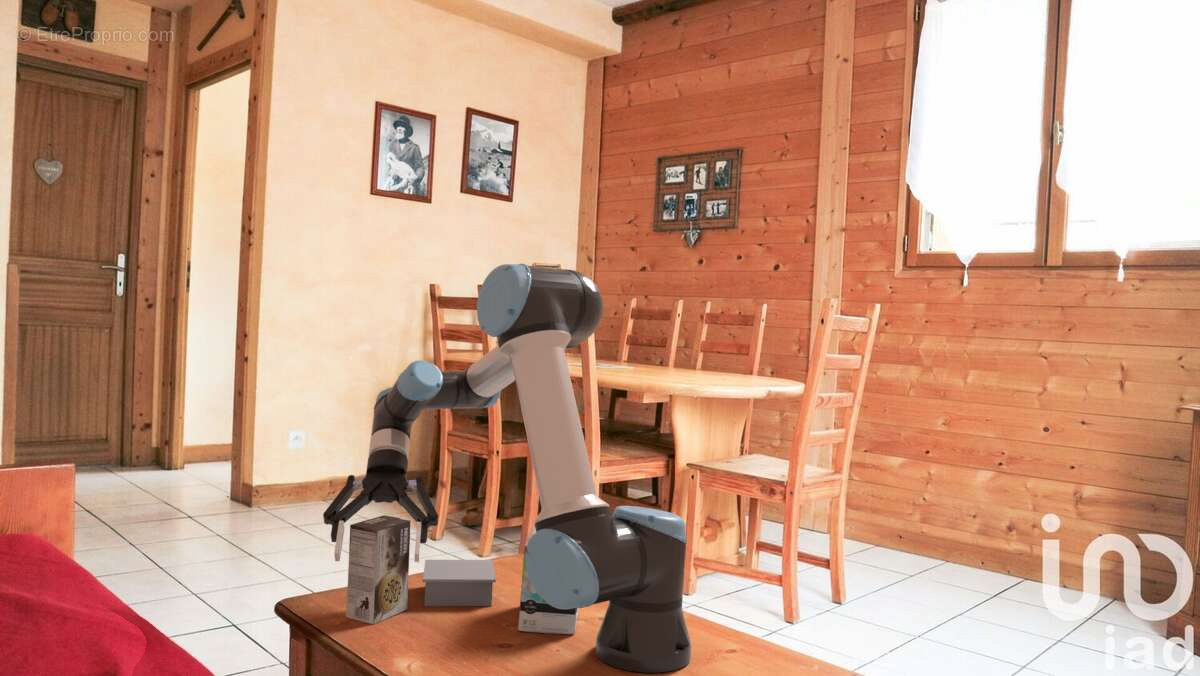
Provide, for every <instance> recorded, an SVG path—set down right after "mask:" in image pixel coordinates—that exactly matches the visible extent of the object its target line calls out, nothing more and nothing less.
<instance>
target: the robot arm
mask: <svg viewBox="0 0 1200 676" xmlns="http://www.w3.org/2000/svg"><path fill="white" fill-rule="evenodd" d="M604 310H605V309H604V299H603V295H602V293H601V291H600V289H599V287H598V286H597V284H596V282H594V281H593V280H592V278H590V277H589V276H588V275H586V274H584V273H582V272H580V271H577V270H575V269H567V268H566V269H562V268H555V267H554V268H553V267H544V266H534V265H527V264H525V263H518V264H512V263H511V264H510V263H505V264H500V265H498V266H496V267H494V269H492V270H491V271H490V272H489V273H488V275H487V276H486V277H485V279H484V281H483V283H482V285H481V288H480V290H479V292H478V298H477V303H476V316H477V323H478V325H479V327H480V329H481V330H482V331H483V332H484V334H486V335H488V336H489V337H491V338H496V339H497V343H498V344H497V345H496V346H495V347H494V348H492V349H491V350H490V351H488V352H487V353H485V354H484V355H483V356H482V357H480V358H479V359H477V361H475V362H474V363H472V364H471V365H470V366H468V367H466V368H465V369H464V370H441V369H440V368H439V367H438V366H437V365H435V364H434V363H431V362H428V361H427V360H424V359H419V360H415V361H412V362H411V363H410V364H408V366H407V367H406V368H405V369H404V370H403V371H402V372H400V374H399V375H398V378H397V380H396V381H395V383H394V384H393V386H391V387H387V388H385V389H384V390H381V391H380V392H379V393H378V395H377V397H376V400H375V403H374V406H373V419H372V425H371V434H370V435H371V436H370V442H369V449H368V458H367V464H366V471H365V472H366V473H365V476H364V478H356V477H355V475H354V474H350V475H348V476H347V479H346V483H345V484H344V486H343V488H342V489H341V490H340V492H339V493H338V494H337V496H336V497H335V498H334V499H333V500H332V502H331V503H330V504H329V506H328V507H327V508H326V509H325V511H324V512H323V514H322V516H323V523H324V524H325V525H331V531H330V540H331V543H335V547H334V553H333V554H334V561H335V562H341V555H342V549H343V541H344V534H345V523H346V522H347V521H349V520H350V519H351V518H353V516H354V515H355V514H356V513H358V512H359V511H360V510H361V509H363V508H364V507H365V506H369V504H370V503H372V502H374V503H377V504H379V503H388V504H392V503H393V502H396V503H398V505H399V506H400V507H403V509H404V510H405V511H406V512H407V513H408V514H409V515H410V516H411V518H412V519H413V520H414V521H415V522H416V532H415V545H414V562H415V563H420V554H421V553H420V551H421V544H426V543H427V542H428V530H429V528H430V527H432V526H433V527H437V526H438V525H439V514H438V512H437V510H436V508H435V507H434V505H433V503H432V500H431V499H430V497H429V495H428V493H427V492H426V489H425V487H424V480H423V477H422V476H416V479H409V480H408V477H407V476H408V465H409V454H410V446H411V445H410V443H411V434H412V427H413V424H414V422H416V420H417V419H418V418H419V417H420V416H421V414H422V413H423V412H424V411H426V410H448V409H450V410H451V409H452V410H454V409H455V410H456V409H473V410H475V409H476V410H480V409H483V408H491V407H493V406H495V405H496V404H497V402H498V399H500V397H501V393H502V392H501V391H502V390H503V389H505V388H507V387H508V386H509V385H511V384H512V383H514V382H515V386H516V389H517V393H518V398H519V405H520V409H521V414H522V418H523V424H524V428H525V432H526V433H525V434H526V439H527V442H528V447H529V453H530V456H531V457H530V458H531V462H532V468H533V472H534V477H535V483H536V486H537V487H536V488H537V492H538V497H539V501H540V507H541V511H540V512H539V514H538V515H537V517H536V519H535V520H534V521H533V523H534V527H535V528H536V533H535V534H534V535H533V536H532V537H531V538H530V540H529V542H528V544H527V549H528V551H527V552H526V555H525V561H526V569H527V573H528V576H529V579H530V581H531V584H532V586H533V587H534V589H535V591H536V592H537V594H538V595H539V596H540V597H541V598H542V599H544V600H545V601H546V602H547V603H548V604H549V605H551V606H552V607H555V608H558V609H572V608H579V609H584V608H588V607H591V606H593V605H596V604H601V603H605V602H608V605H607V608H606V611H605V613H604V617H603V619H602V621H601V624H600V626H599V627H600V628H599V630H598V633H597V635H596V639H595V654H596V657H597V658H599V660H601V662H604V663H605V664H606V665H607V664H608V665H610V666H611V667H614V668H617V669H620V670H625V671H629V672H637V673H645V674H646V673H650V674H651V673H666V672H672V671H677V670H679V669H682V668H683V667H685V666H687V665H688V664H689V663H690V662H691V656H692V655H691V654H692V643H691V638H690V634H689V630H688V627H687V623H686V619H685V614H684V611H683V599H684V598H683V596H684V595H683V594H684V583H685V582H684V580H685V567H686V566H685V564H686V547H687V543H688V540H686V538H687V535H686V534H687V533H686V532H687V531H686V530H687V527H686V526H687V525H686V522H685V521H684V519H683V518H682V517H681V516H679V515H678V514H675V513H673V512H670V511H665V510H661V509H657V508H656V509H655V508H651V507H649V508H648V507H643V506H633V505H618V506H616V507H615V508H614V511H613V513H612V510H611V506H610V504H609V503H607V502H605V501H604V500H603V499H601V498H600V497H599V496H598V495H597V490H596V485H595V482H594V477H593V472H592V466H591V463H590V459H589V454H588V451H587V446H586V441H585V436H584V432H583V428H582V423H581V419H580V414H579V410H578V405H577V402H576V396H575V392H574V388H573V383H572V380H571V374H570V371H569V366H568V362H567V361H568V360H567V357H566V351H565V350H572V349H574V348H576V347H577V346H579V345H580V344H582V343H584V342H585V341H586V340H587V339H589V338H590V337H591V336H592V335H593V334H594V333H595V332H596V330H597V329H598V328H599V326H600V324H601V322H602V318H603V315H604ZM360 487H362V490H361V491H360V494H358V495H357V496H356V497H355V498H353V500H351V501H350V502H348V501H349V500H350V498H351V497H352V495H353V493H354V492H356V491H357V490H358V489H359V488H360ZM409 488H410V489H411V490H412V492H413V493H416V496H417V498H418V500H419V503H420V504H421V507H422V508H423V510H424V512H423V511H422V510H421V508H420V507H419V506H418V505H417V504H416V503H415V502H414V500H412V498H411V497H410V496H408V493H407V492H406V491H407V490H408V489H409ZM347 502H348V503H347Z"/></svg>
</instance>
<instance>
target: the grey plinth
mask: <svg viewBox="0 0 1200 676" xmlns="http://www.w3.org/2000/svg"><path fill="white" fill-rule="evenodd" d="M495 572H496V571H495V566H494V560H493V559H425V560H424V568H423V576H422V583H425V587H424V588H425V589H424V607H492V606H493V605H492V604H493V603H492V602H493V585H494V584H493V583H496V581H497V579H496V573H495Z"/></svg>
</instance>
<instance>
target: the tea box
mask: <svg viewBox="0 0 1200 676" xmlns="http://www.w3.org/2000/svg"><path fill="white" fill-rule="evenodd" d="M535 533H536V528H535V526H532V527H531V529H530V531H529V534H528V536H527V538H526V541H525V543H524V545H523V546H524V547H523V559H522V574H521V587H520V589H521V590H520V600H519V601H520V602H519V603H520V604H519V614H518V615H519V616H518V627H517V629H518V631H520V632H527V633H528V632H529V633H538V634H540V633H543V634H553V635H555V634H557V635H575V633H576V628H577V623H578V622H577V621H578V616H579V615H578V614H579V609H580V608H572V609H558V608H555V607H552V606H551V605H549V604H548V603H547V602H546V601H545V600H544V599H542V598H541V597H540V596H539V595H538V594H537V592H536V591H535V589H534V587H533V586H532V584H531V581H530V579H529V576H528V573H527V569H526V561H525V555H526V552H527V551H528V549H527V544H528V542H529V540H530V538H531V537H532V536H533V535H534V534H535Z"/></svg>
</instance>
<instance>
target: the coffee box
mask: <svg viewBox="0 0 1200 676" xmlns="http://www.w3.org/2000/svg"><path fill="white" fill-rule="evenodd" d="M410 539H411V520H409V519H402V518H400V517H397V516H396V517H395V516H390V515H380V516H376V517H372V518H370V519H365V520H362V521H359V522H356V523H351V524H350V525H349V544H348V545H349V548H348V549H349V550H348V568H347V569H348V571H347V589H346V590H347V591H346V592H347V593H346V608H345V609H346V611H345V613H346V614H345V616H346V618H348V619H350V620H354V621H359V622H363V623H367V624H370V625H376V624H377V623H380V622H382V621H384V620H387V619H389V618H391V617H393V616H396V615H398V614H400V613H402V612H404V611H406V610H408V595H409V594H408V592H409V571H410V549H411V548H410V544H411V540H410Z"/></svg>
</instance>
